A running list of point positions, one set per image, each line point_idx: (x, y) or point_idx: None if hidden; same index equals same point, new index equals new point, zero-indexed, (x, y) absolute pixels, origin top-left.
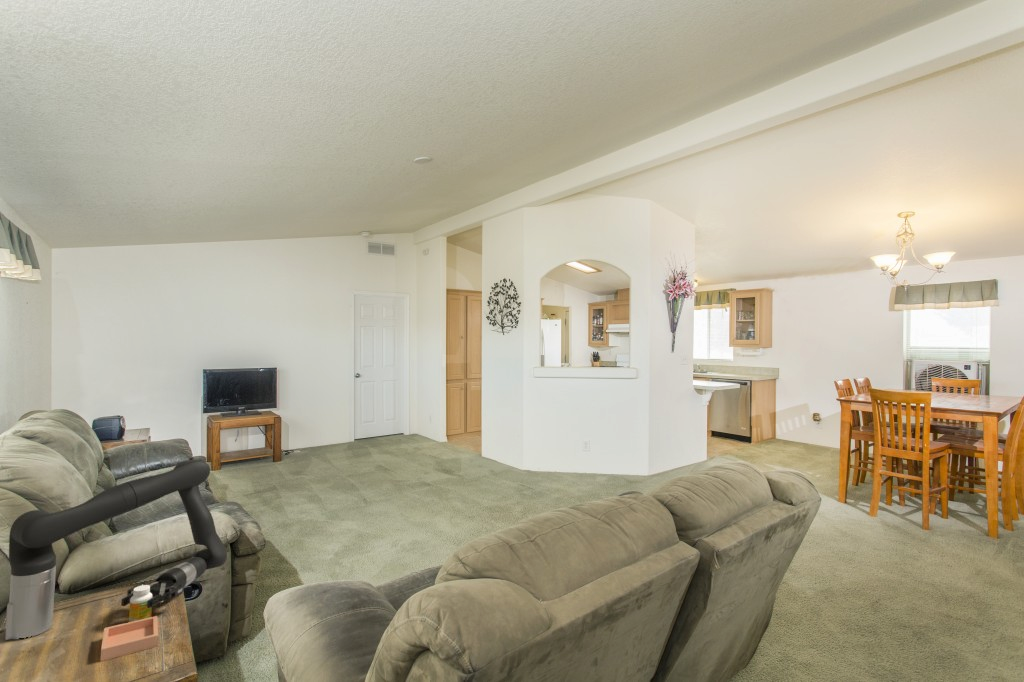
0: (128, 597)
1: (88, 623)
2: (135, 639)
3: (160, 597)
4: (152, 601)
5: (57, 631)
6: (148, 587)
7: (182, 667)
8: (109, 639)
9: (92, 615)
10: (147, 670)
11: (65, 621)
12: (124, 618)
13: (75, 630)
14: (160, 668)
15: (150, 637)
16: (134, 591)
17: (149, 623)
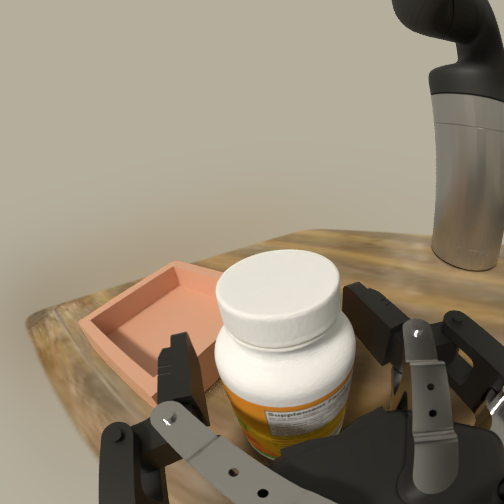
0: (361, 305)
1: (433, 316)
2: (123, 296)
3: (158, 402)
4: (163, 348)
5: (431, 273)
6: (228, 300)
7: (31, 320)
8: None
9: (485, 329)
10: (77, 302)
11: (479, 287)
12: (384, 394)
13: (408, 292)
14: (59, 310)
15: (93, 313)
16: (276, 253)
17: None
